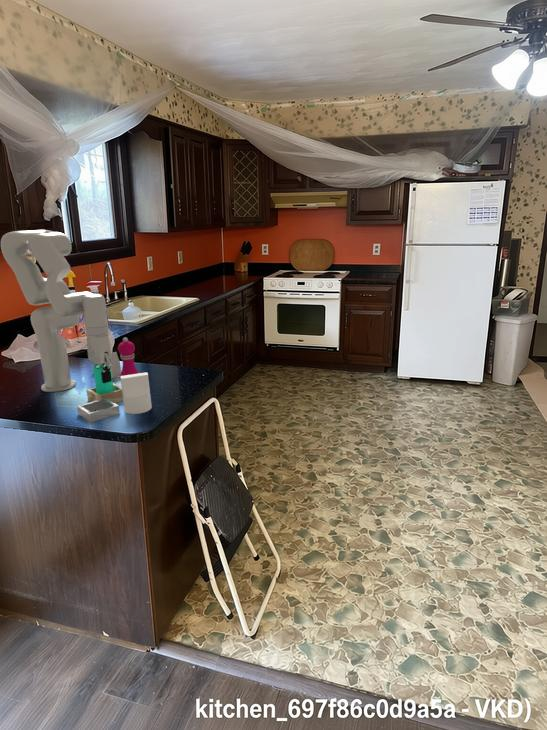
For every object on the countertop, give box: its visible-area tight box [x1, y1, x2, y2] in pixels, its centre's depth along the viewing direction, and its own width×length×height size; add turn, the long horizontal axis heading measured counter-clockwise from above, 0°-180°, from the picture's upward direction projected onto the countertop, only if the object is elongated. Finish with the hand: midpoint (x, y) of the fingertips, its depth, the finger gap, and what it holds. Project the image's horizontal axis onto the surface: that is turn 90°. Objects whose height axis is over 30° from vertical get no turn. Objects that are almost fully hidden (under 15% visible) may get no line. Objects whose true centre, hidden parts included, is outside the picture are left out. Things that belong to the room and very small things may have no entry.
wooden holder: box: [76, 398, 121, 423], centre depth 165 cm, size 10×10×3 cm
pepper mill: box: [117, 337, 140, 381], centre depth 187 cm, size 7×7×20 cm
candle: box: [92, 365, 114, 395], centre depth 176 cm, size 6×6×12 cm
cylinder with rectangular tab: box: [119, 371, 153, 415], centre depth 167 cm, size 9×9×12 cm
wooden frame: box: [86, 382, 124, 404], centre depth 178 cm, size 10×10×4 cm
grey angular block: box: [103, 351, 122, 379], centre depth 202 cm, size 4×7×10 cm, turn 138°
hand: (103, 379), depth 177 cm, fingers closed on candle, 4 cm apart
